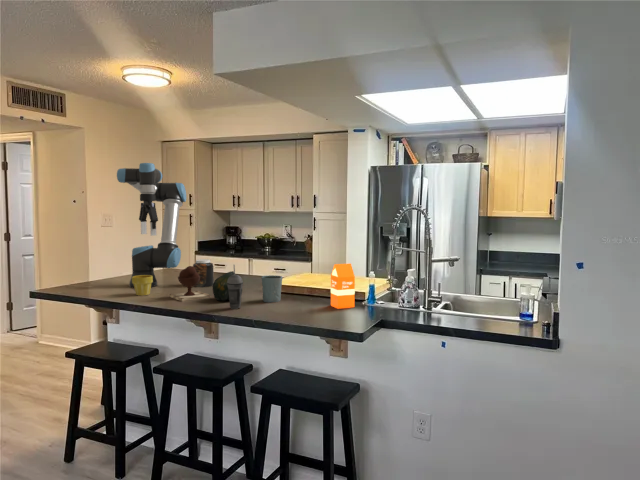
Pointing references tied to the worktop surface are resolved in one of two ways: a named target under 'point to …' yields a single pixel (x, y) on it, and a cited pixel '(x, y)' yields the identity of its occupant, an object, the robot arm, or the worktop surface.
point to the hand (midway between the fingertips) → (148, 234)
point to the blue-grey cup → (271, 288)
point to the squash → (222, 287)
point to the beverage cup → (235, 290)
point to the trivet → (186, 298)
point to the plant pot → (142, 284)
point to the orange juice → (342, 286)
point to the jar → (204, 272)
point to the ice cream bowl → (189, 279)
